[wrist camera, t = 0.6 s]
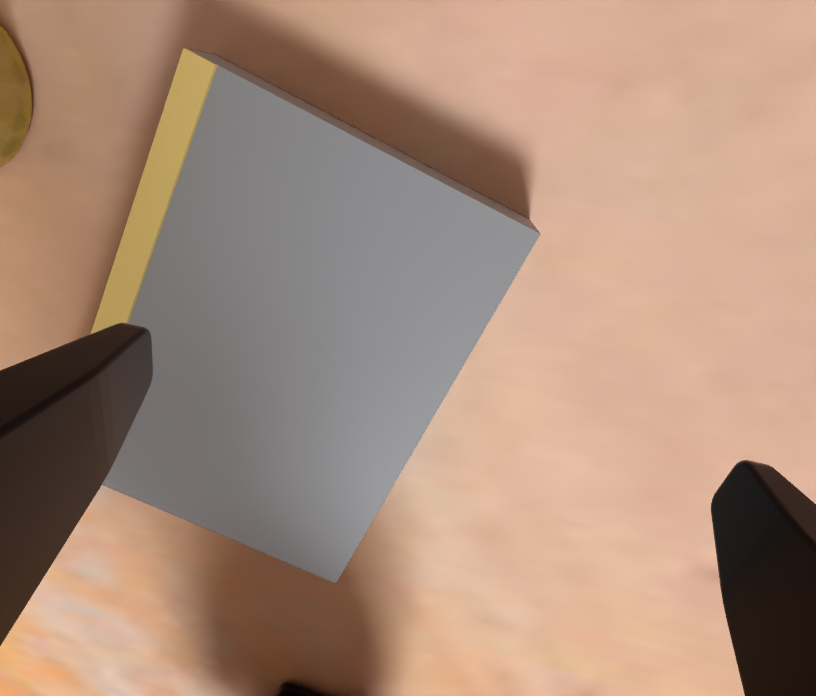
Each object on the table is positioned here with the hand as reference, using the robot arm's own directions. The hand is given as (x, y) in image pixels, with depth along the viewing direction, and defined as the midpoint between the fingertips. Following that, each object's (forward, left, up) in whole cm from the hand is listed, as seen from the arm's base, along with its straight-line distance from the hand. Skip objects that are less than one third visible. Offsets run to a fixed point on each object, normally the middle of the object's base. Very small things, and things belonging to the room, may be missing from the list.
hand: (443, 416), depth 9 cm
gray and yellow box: (-6, +3, -14) cm, 16 cm away
